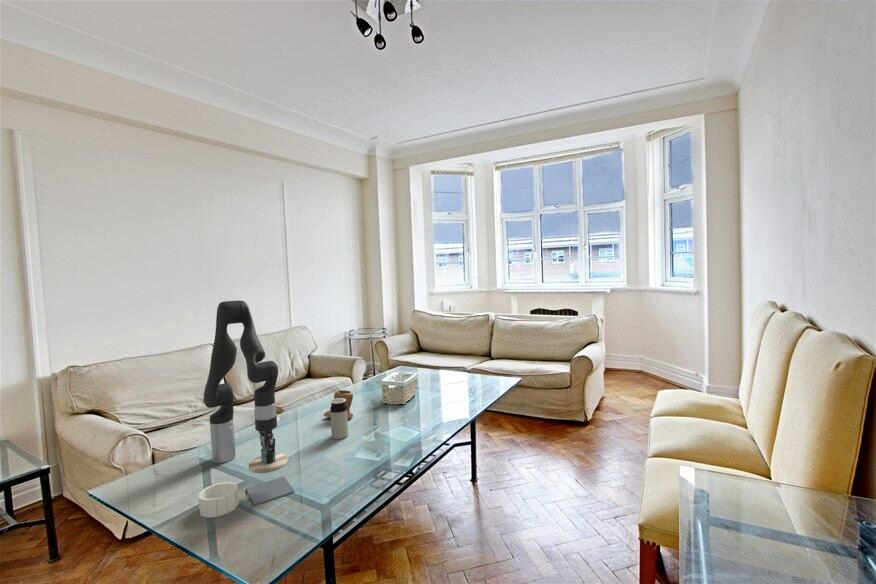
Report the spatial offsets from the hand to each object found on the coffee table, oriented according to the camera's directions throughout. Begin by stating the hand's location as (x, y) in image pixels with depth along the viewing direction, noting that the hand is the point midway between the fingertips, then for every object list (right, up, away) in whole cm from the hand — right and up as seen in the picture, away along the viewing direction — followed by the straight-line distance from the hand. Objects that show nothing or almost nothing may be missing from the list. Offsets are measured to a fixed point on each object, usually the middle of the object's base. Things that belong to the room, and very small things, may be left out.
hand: (268, 460), depth 157 cm
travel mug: (+15, -8, +51) cm, 53 cm away
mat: (0, -12, +1) cm, 12 cm away
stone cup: (+9, -7, +77) cm, 78 cm away
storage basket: (+40, -4, +106) cm, 113 cm away
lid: (0, -1, 0) cm, 1 cm away
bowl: (-13, -13, -9) cm, 21 cm away
